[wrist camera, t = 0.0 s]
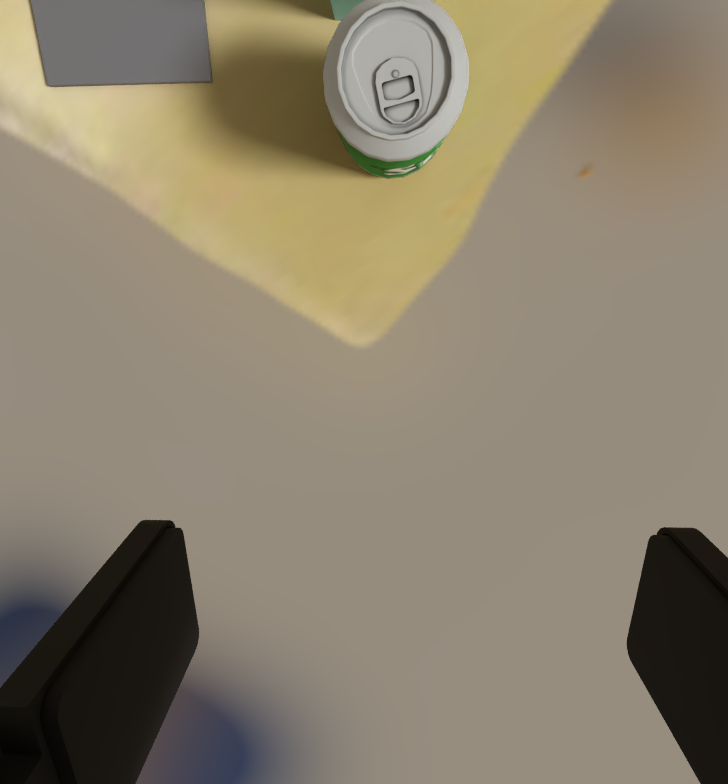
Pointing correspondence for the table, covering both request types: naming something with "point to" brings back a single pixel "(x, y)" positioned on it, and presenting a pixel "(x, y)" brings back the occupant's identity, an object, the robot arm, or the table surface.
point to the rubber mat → (122, 42)
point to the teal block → (343, 7)
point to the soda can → (395, 83)
